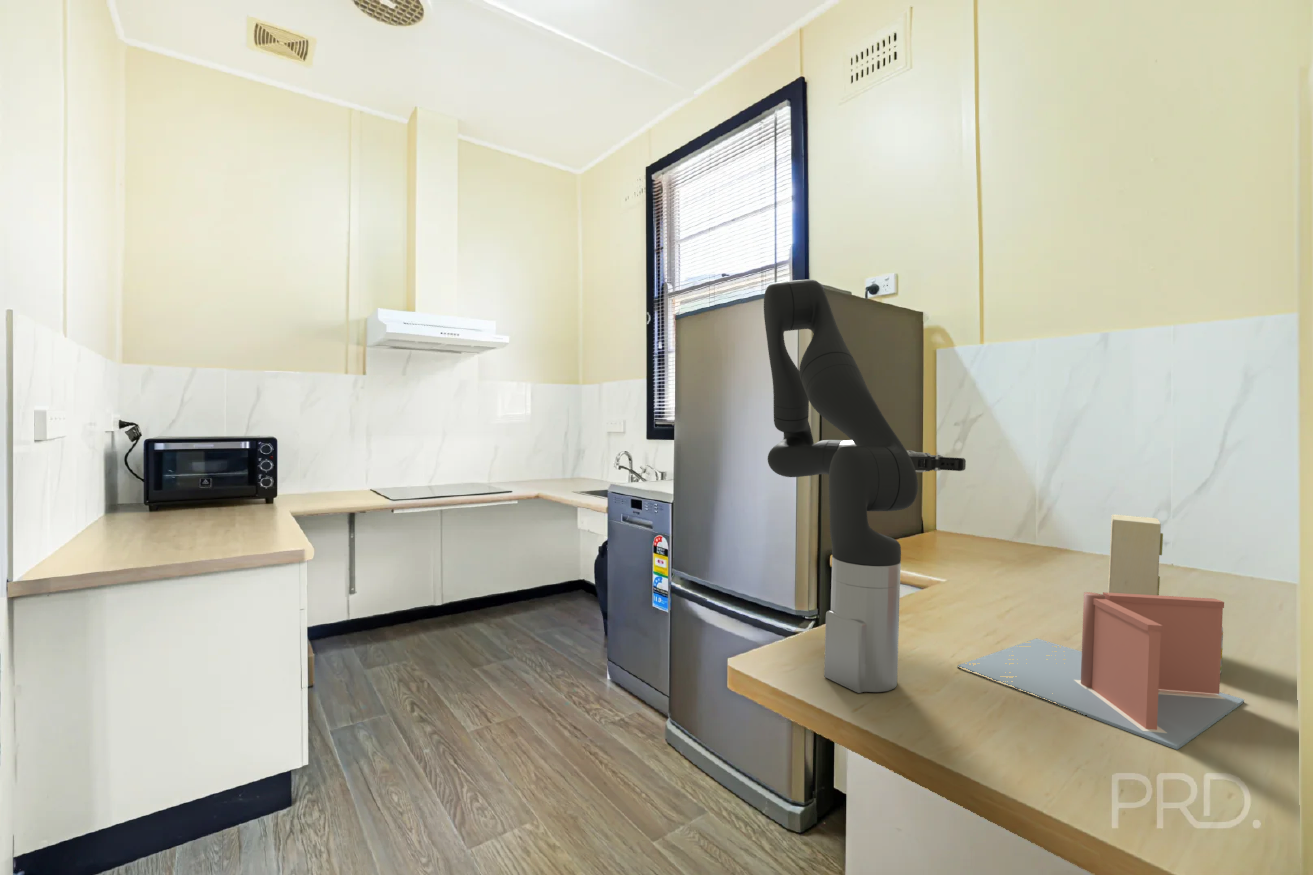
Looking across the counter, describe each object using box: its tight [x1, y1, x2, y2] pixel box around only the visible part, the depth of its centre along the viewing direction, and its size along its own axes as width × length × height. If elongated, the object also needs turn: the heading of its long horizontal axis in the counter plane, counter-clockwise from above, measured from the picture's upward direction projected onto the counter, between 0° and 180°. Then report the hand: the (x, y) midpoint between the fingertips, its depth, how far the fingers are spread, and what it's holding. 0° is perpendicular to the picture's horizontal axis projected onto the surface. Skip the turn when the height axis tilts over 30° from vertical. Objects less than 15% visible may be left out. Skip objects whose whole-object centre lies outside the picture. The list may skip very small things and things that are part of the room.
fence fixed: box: [1081, 591, 1163, 730], centre depth 78 cm, size 14×2×13 cm, turn 172°
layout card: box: [957, 638, 1245, 751], centre depth 85 cm, size 24×26×1 cm
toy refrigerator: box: [1107, 514, 1164, 596], centre depth 104 cm, size 8×7×21 cm
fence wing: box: [1102, 592, 1225, 694], centre depth 82 cm, size 14×2×13 cm, turn 82°
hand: (964, 464), depth 102 cm, fingers closed
